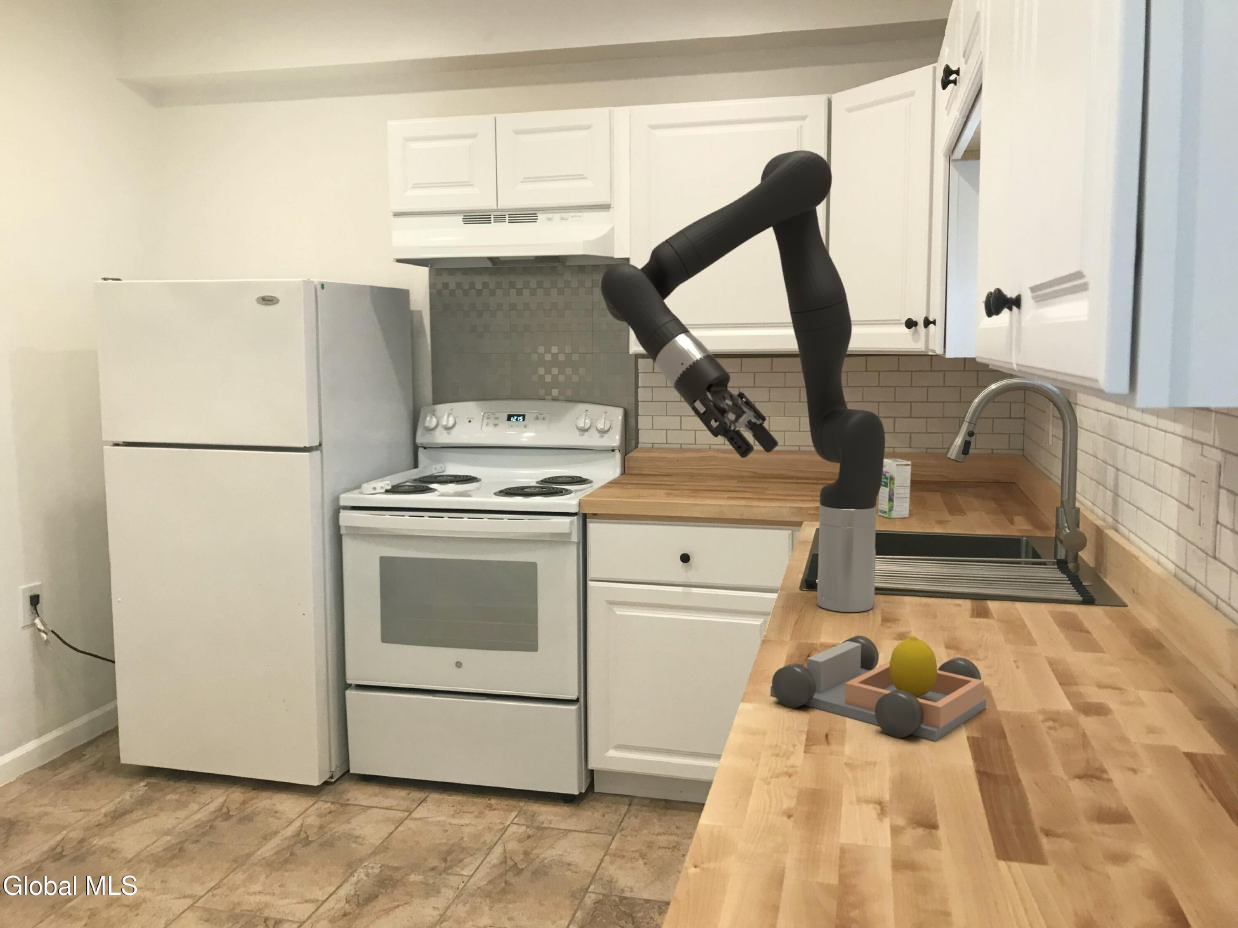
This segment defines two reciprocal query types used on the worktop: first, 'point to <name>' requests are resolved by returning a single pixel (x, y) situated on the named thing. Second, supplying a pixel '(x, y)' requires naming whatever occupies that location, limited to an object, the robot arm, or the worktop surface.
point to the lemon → (913, 667)
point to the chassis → (881, 691)
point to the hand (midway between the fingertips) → (761, 451)
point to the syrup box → (895, 489)
